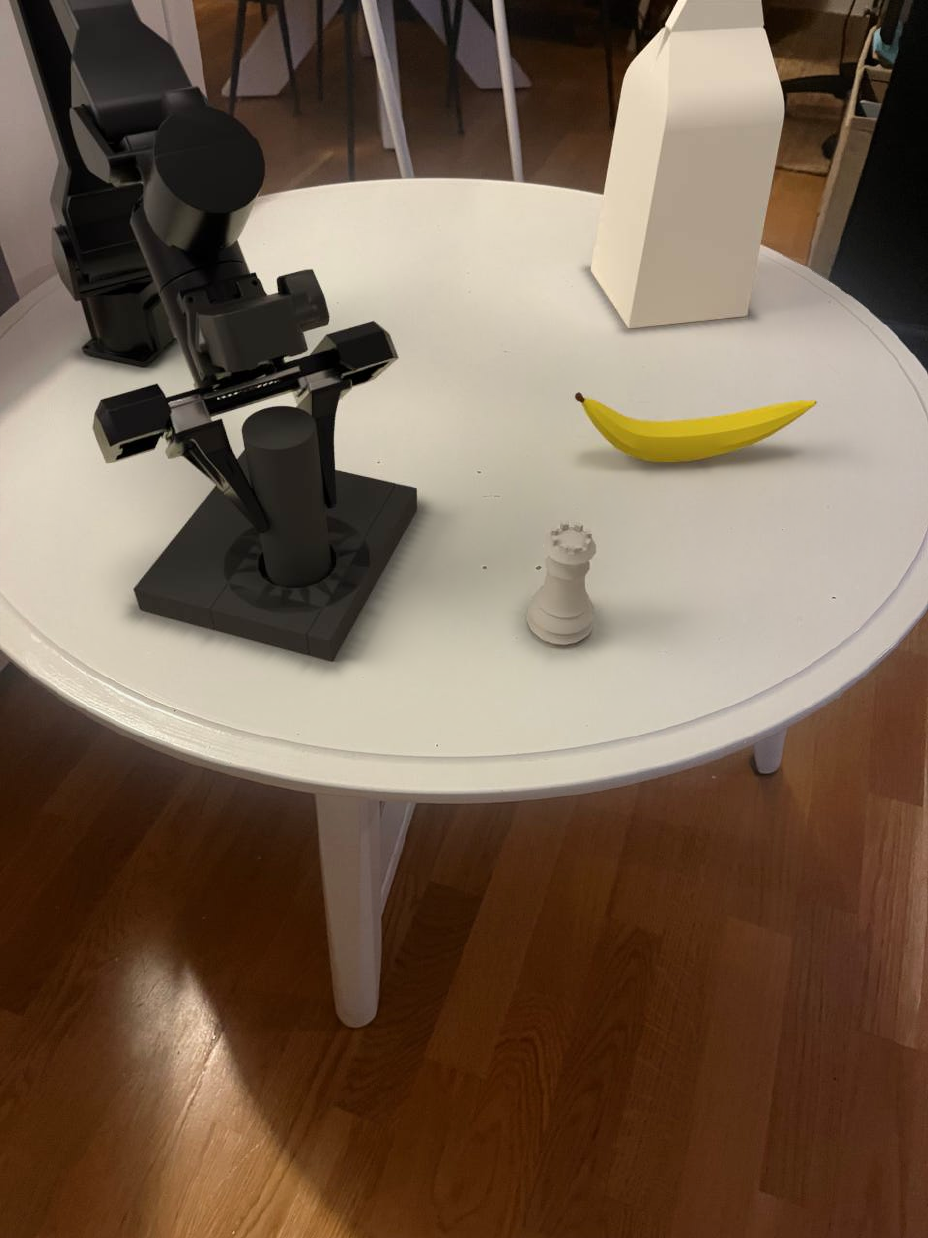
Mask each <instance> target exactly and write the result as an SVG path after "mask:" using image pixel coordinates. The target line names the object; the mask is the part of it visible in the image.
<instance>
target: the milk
mask: <svg viewBox="0 0 928 1238" xmlns="http://www.w3.org/2000/svg"><path fill="white" fill-rule="evenodd" d="M762 4H763V3H762V0H677V1H676V3H675V5H674V6H673V9H672V11H671V13H670V14H669V16H668V18H667V20H666V22H665V24H664V25H665V26H664V27H662V28H661V29H660V30H659V32H657V34H655V36H654V37H653V38H652V39H651V40H650V41H649V42H648V43H647V45H645V47H644V48H643V49H642V50H641V51H640V52H639V53H638V55H636V57H635V58H633V60H632V61H631V63H630V64H629V66H628V68H627V69H626V72H625V74H624V77H623V80H622V85H621V90H620V95H619V96H620V97H619V102H618V108H617V113H616V120H615V125H614V131H613V137H612V143H611V149H610V155H609V160H608V167H607V171H606V178H605V184H604V190H603V195H602V202H601V206H600V207H601V208H600V213H599V219H598V223H597V224H598V225H597V231H596V236H595V242H594V248H593V254H592V259H591V266H590V272H591V273H592V275H593V276H594V279H596V281H597V283H598V285H600V287H601V289H602V290H603V292H604V293H605V295H606V296H607V298H608V299H609V301H610V302H611V304H612V305H613V307H614V308H615V310H616V312H617V313H618V315H619V316H620V318H621V320H622V321H623V322H624V324H625V325H626V327H627V329H637V328H647V327H655V326H657V327H658V326H665V325H676V324H684V323H695V322H702V321H703V322H704V321H714V320H723V319H731V318H732V319H733V318H744V317H748V313H749V309H750V303H751V297H752V291H753V286H754V281H755V275H756V271H757V270H756V269H757V265H758V261H759V255H760V254H759V253H760V248H761V244H762V238H763V234H764V227H765V223H766V216H767V212H768V211H767V210H768V207H769V202H770V201H769V200H770V196H771V190H772V184H773V179H774V174H775V168H776V164H777V158H778V152H779V147H780V141H781V137H782V130H783V125H784V119H785V100H784V93H783V88H782V84H781V81H780V77H779V73H778V70H777V67H776V64H775V60H774V56H773V52H772V49H771V46H770V43H769V38H768V35H767V32H766V29H765V28H764V26H765V21H764V13H763V5H762Z"/></svg>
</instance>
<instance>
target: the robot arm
mask: <svg viewBox="0 0 928 1238" xmlns="http://www.w3.org/2000/svg"><path fill="white" fill-rule="evenodd" d="M8 2H9V6H10V8H11V12H12V15H13V18H14V21H15V25H16V29H17V32H18V34H19V38H20V40H21V45H22V47H23V51H24V54H25V57H26V61H27V63H28V67H29V70H30V73H31V76H32V79H33V83H34V86H35V90H36V93H37V96H38V100H39V103H40V107H41V109H42V112H43V115H44V118H45V122H46V126H47V128H48V131H49V134H50V139H51V141H52V144H53V148H54V150H55V154H56V157H57V162H58V164H57V168H56V171H55V176H54V180H53V184H52V188H51V191H50V196H49V204H50V208H51V210H52V213H53V214H52V215H53V217H54V221H55V225H56V226H53V227H51V257H52V259H53V262H54V265H55V268H56V270H57V273H58V276H59V278H60V280H61V282H62V284H63V285H64V287H65V288H66V290H67V292H69V294H70V295H71V297H72V298H73V300H74V301H75V302H79V301H80V303H81V307H82V311H83V315H84V318H85V321H86V324H87V329H88V332H89V336H90V339H89V340H88V341H86V342H85V343H84V344H83V345H82V346H81V352H82V353H83V355H87V356H92V357H97V358H102V359H107V360H111V361H117V362H121V363H125V364H131V365H135V366H139V367H145V366H147V365H149V364H150V363H152V362H153V360H154V359H156V357H157V356H158V355H159V354H160V353H161V352H163V350H165V348H166V347H167V346H168V345H170V343H171V342H172V341H174V340H175V339H176V341H177V343H178V346H179V348H180V350H181V353H182V355H183V358H184V360H185V362H186V364H187V368H188V370H189V372H190V375H191V378H192V380H193V384H192V385H193V387H194V388H193V389H191V390H190V389H189V390H188V391H184V392H180V393H177V394H174V395H170V396H166V393H165V392H164V391H163V389H162V388H161V387H160V385H159V384H158V383H154V384H149V385H147V386H144V387H140V388H136V389H133V390H130V391H126V392H122V393H120V394H119V393H118V394H115V395H112V396H109V397H107V398H106V397H105V398H102V399H100V400H99V403H98V405H97V407H96V409H95V411H94V416H93V421H92V422H93V423H92V431H93V434H94V438H95V440H96V442H97V445H98V447H99V450H100V452H101V455H102V457H103V459H104V461H105V464H112V463H117V462H120V461H123V460H127V459H130V458H133V457H136V456H139V455H142V454H146V453H149V452H152V451H154V450H155V449H156V447H157V445H158V443H159V441H160V439H165V442H166V444H167V447H166V449H165V451H164V453H165V455H166V457H167V459H168V460H172V459H175V458H179V457H182V458H184V459H185V460H186V461H187V462H188V463H190V464H191V465H192V466H193V467H195V468H196V469H197V470H198V471H199V472H200V473H201V474H203V476H205V477H206V478H207V479H209V481H211V483H213V484H214V485H215V486H217V487H218V488H219V489H220V490H221V491H222V492H223V493H224V494H225V495H226V496H227V497H228V498H229V500H230V501H231V502H232V503H233V504H234V505H235V506H236V507H237V508H238V509H239V511H240V512H241V513H242V514H243V515H244V516H245V517H246V518H247V519H248V520H249V522H250V523H251V524H252V525H253V526H254V527H255V528H256V529H257V530H258V531H259V532H260V533H261V534H263V533H265V532H267V531H268V530H269V528H268V525H267V522H266V519H265V516H264V514H263V511H262V508H261V506H260V504H259V502H258V500H257V498H256V496H255V494H254V492H253V490H252V488H251V486H250V484H249V482H248V480H247V478H246V476H245V474H244V472H243V470H242V468H241V466H240V464H239V463H238V461H237V457H236V455H235V452H234V451H233V449H232V446H231V443H230V440H229V437H228V436H229V435H228V434H227V430H226V427H225V423H224V421H223V419H222V418H219V419H215V420H212V417H216V416H219V415H222V414H225V413H229V412H232V411H236V410H239V409H242V408H244V407H248V406H251V405H254V404H257V403H258V404H259V403H261V402H264V401H267V400H272V399H275V398H277V397H281V396H284V395H287V394H291V393H292V395H293V399H294V401H295V403H296V406H295V407H296V408H300V409H302V410H305V411H306V412H308V413H309V414H310V415H311V416H312V417H313V418H314V420H315V422H316V428H317V437H318V447H319V456H320V465H321V474H322V483H323V492H324V502H325V505H326V506H327V508H328V509H331V508H334V507H336V506H337V493H336V473H335V470H336V457H335V455H336V454H335V431H336V430H335V428H336V415H337V411H338V406H339V401H341V399H343V398H344V397H345V396H346V395H347V394H348V393H349V392H350V391H352V389H353V388H355V387H359V386H362V385H365V384H368V383H369V382H371V381H374V380H376V379H377V378H378V377H379V376H380V375H381V374H382V373H384V372H385V371H386V370H387V369H388V368H389V367H390V366H391V365H393V364H394V363H395V362H396V361H397V360H398V359H400V358H399V355H398V353H397V349H396V347H395V344H394V342H393V339H392V337H391V334H390V333H389V332H388V331H387V330H386V329H385V328H384V327H383V326H381V324H379V323H377V322H376V321H375V320H372V321H369V322H365V323H361V324H358V325H355V326H351V327H346V328H344V329H340V330H337V331H334V332H330V333H327V334H325V336H324V337H323V338H322V339H321V340H320V341H319V343H318V344H317V345H316V347H314V349H313V350H312V351H311V353H310V354H308V355H305V356H302V357H299V358H297V359H292V360H288V361H286V360H285V358H286V357H289V358H292V357H296V356H299V355H302V354H304V353H307V352H308V351H309V347H308V345H307V340H306V336H305V332H308V331H312V330H316V329H319V328H322V327H325V326H328V325H329V323H330V312H329V308H328V304H327V301H326V297H325V295H324V291H323V289H322V287H321V285H320V283H319V280H318V278H317V276H316V274H315V271H314V269H313V268H309V269H308V268H307V269H302V270H298V271H295V272H290V273H286V274H283V275H279V276H277V278H276V289H277V292H275V293H271V294H267V292H266V291H265V288H264V285H263V283H262V282H261V280H260V278H259V277H258V275H257V272H251V271H250V268H249V266H248V264H247V261H246V259H245V256H244V253H243V251H242V248H241V245H240V242H239V240H238V239H239V238H240V236H241V235H242V232H243V231H244V229H245V228H246V225H247V222H248V220H249V217H250V215H251V213H252V210H253V208H254V206H255V204H256V201H257V200H258V197H259V195H260V192H261V190H262V187H263V184H264V180H265V177H266V161H265V157H264V153H263V148H262V146H261V144H260V142H259V140H258V139H257V138H256V137H255V136H254V135H253V134H252V133H251V131H250V130H249V129H248V127H246V125H244V124H243V123H242V122H241V121H240V120H238V119H237V118H236V117H234V116H233V115H231V114H229V113H228V112H226V111H224V110H221V109H218V108H216V107H215V105H214V104H213V103H212V102H211V101H210V99H208V98H207V96H205V94H204V93H203V92H202V90H201V87H199V86H198V85H193V83H192V82H191V80H190V78H189V75H188V73H187V71H186V69H185V67H184V65H183V62H182V61H181V59H180V57H179V54H178V52H177V50H176V49H175V47H174V46H173V45H172V44H171V43H170V42H169V41H168V40H166V39H165V38H164V37H162V36H161V35H160V34H159V33H157V31H155V30H153V29H152V28H151V27H150V26H149V25H147V24H146V23H145V22H144V21H142V18H141V17H140V15H139V13H138V11H137V8H136V6H135V4H134V2H133V0H8Z"/></svg>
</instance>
